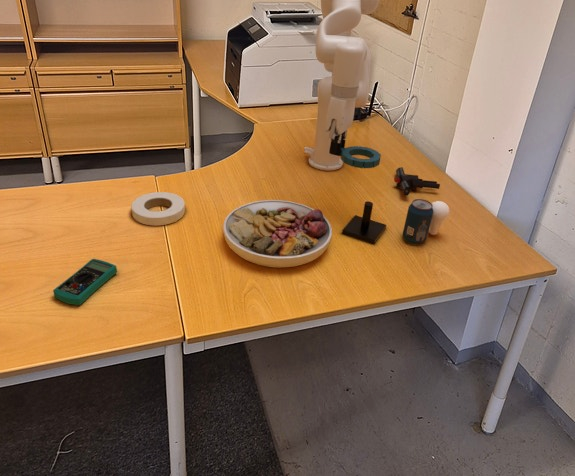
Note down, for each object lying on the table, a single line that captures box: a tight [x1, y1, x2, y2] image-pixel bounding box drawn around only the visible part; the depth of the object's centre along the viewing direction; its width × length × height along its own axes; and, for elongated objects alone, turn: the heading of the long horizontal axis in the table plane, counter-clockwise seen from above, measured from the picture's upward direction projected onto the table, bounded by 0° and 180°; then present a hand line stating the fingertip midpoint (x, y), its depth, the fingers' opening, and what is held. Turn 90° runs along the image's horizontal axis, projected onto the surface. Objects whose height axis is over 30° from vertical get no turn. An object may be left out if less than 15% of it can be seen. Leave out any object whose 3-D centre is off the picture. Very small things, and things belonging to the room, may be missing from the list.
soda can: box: [402, 198, 433, 246], centre depth 148 cm, size 7×7×12 cm
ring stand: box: [341, 200, 387, 245], centre depth 151 cm, size 10×10×10 cm
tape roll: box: [131, 191, 186, 227], centre depth 154 cm, size 16×15×3 cm
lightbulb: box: [428, 200, 450, 236], centre depth 151 cm, size 6×6×11 cm
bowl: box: [222, 199, 333, 268], centre depth 144 cm, size 30×30×8 cm
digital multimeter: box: [52, 258, 118, 306], centre depth 124 cm, size 7×15×3 cm, turn 159°
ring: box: [329, 145, 382, 169], centre depth 149 cm, size 15×11×2 cm
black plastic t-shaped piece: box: [393, 166, 441, 197], centre depth 177 cm, size 5×20×15 cm
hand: (336, 152), depth 152 cm, fingers closed on ring, 2 cm apart
